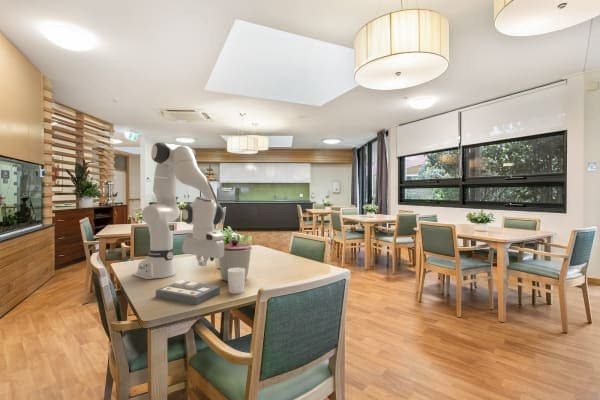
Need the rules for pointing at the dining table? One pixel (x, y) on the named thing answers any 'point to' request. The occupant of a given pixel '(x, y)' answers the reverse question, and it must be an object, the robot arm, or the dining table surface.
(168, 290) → the button panel
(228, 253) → the canister
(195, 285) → the middle button
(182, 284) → the button
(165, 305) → the dining table surface
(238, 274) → the white cup
